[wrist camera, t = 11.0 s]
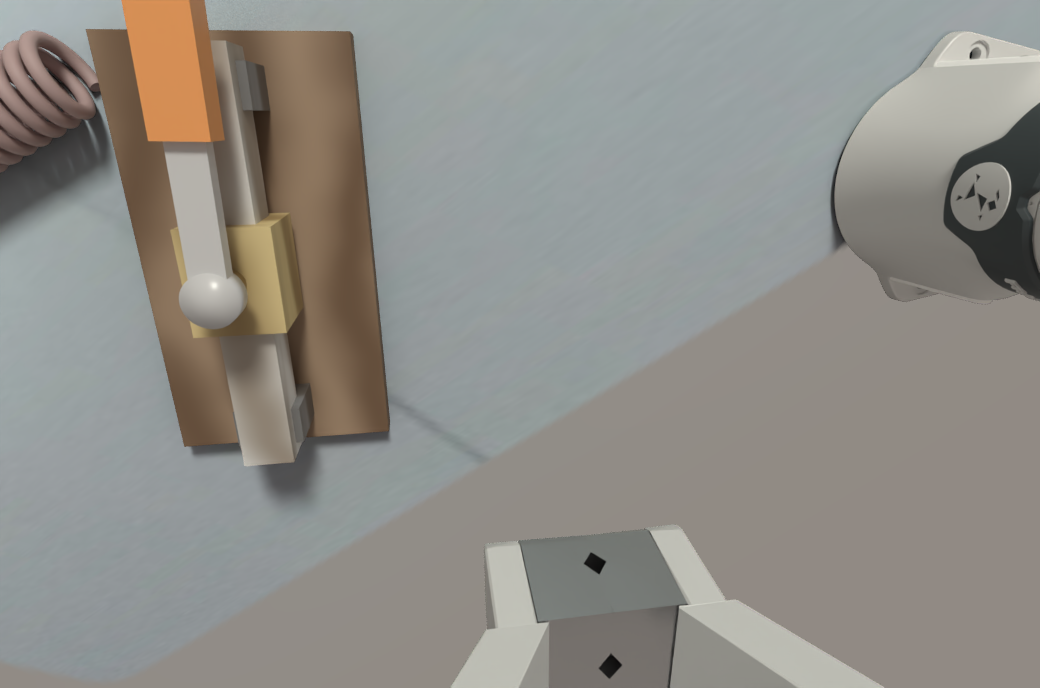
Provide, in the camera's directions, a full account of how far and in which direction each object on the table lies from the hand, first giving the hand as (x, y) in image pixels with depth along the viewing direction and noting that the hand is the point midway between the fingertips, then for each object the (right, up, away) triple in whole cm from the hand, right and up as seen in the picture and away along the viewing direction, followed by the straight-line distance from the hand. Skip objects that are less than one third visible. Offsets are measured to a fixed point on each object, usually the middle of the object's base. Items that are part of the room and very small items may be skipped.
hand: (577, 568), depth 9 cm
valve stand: (-18, +9, +31) cm, 37 cm away
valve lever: (-16, +12, +20) cm, 28 cm away
